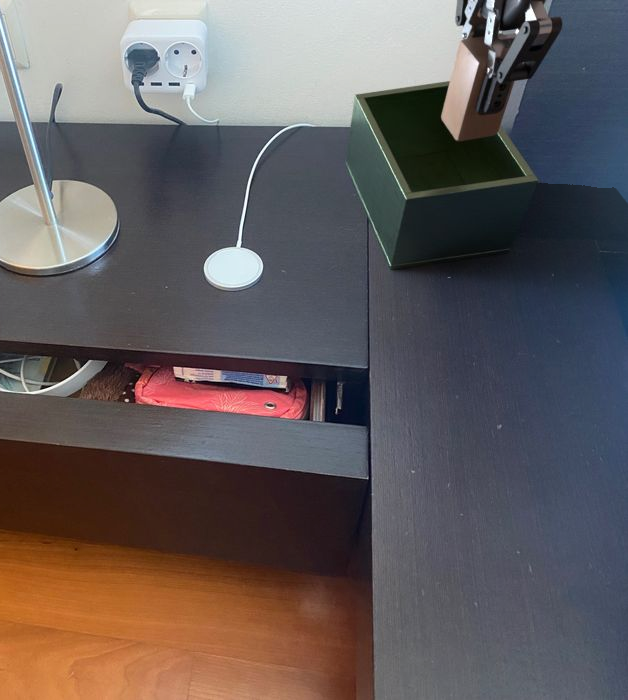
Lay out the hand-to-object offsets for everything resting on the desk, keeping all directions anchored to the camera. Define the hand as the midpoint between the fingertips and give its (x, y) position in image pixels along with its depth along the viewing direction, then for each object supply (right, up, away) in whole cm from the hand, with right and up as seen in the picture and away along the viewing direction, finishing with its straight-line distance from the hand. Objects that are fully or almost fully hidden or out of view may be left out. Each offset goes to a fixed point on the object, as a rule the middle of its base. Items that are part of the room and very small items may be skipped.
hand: (477, 95), depth 64 cm
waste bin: (+1, -7, +17) cm, 18 cm away
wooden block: (0, -2, +3) cm, 3 cm away
